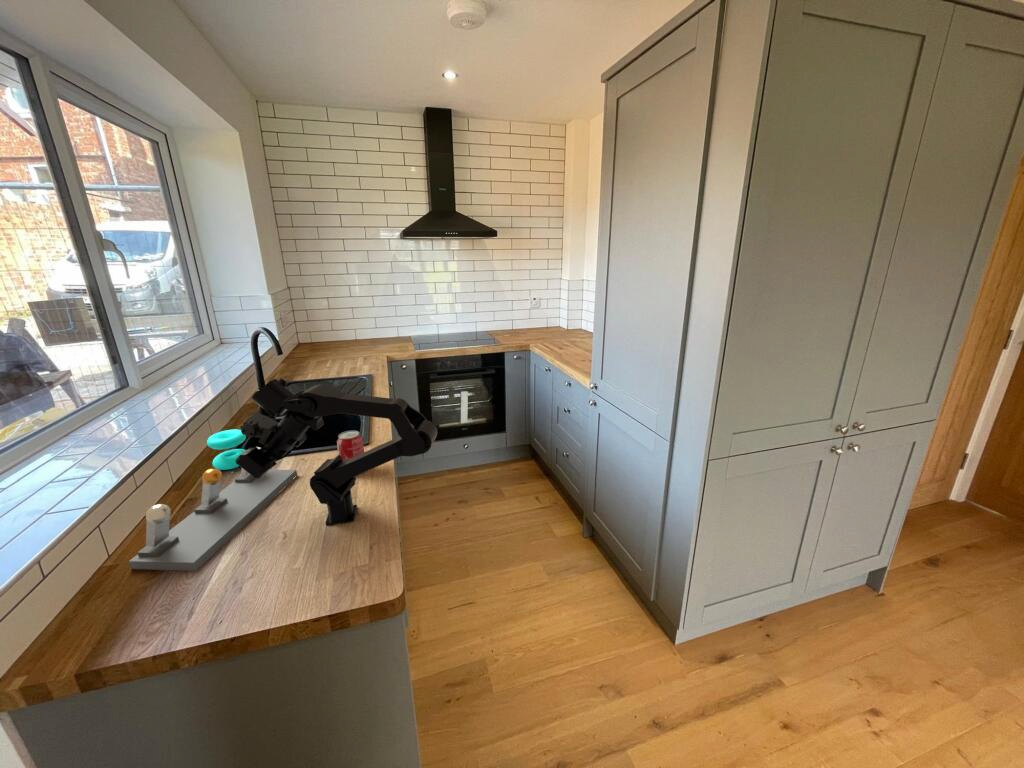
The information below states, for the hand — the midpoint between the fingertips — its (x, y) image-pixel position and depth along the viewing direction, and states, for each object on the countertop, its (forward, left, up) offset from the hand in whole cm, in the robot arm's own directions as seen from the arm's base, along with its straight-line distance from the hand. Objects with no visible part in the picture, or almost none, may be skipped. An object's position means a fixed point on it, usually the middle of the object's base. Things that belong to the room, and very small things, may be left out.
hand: (255, 470), depth 98 cm
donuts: (+33, +19, -13) cm, 40 cm away
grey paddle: (+18, +9, -9) cm, 22 cm away
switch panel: (+3, +9, -13) cm, 16 cm away
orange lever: (+4, +13, -9) cm, 16 cm away
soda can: (+18, -19, -13) cm, 29 cm away
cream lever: (-11, +17, -9) cm, 22 cm away
